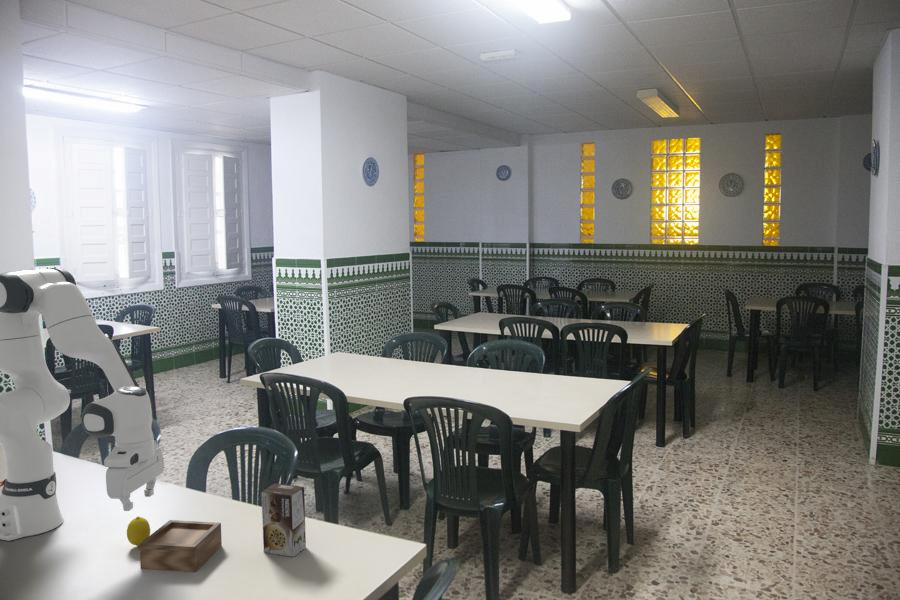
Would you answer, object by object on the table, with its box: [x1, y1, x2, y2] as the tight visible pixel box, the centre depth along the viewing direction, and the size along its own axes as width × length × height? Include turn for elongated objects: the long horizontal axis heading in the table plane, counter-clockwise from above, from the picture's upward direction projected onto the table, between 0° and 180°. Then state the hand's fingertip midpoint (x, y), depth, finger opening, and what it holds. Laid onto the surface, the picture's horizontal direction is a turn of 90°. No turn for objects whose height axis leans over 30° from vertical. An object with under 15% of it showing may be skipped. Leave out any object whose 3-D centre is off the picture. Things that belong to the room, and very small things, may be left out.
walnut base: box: [139, 519, 223, 573], centre depth 173 cm, size 14×14×6 cm
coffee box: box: [260, 483, 307, 558], centre depth 177 cm, size 9×6×16 cm
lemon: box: [126, 516, 151, 548], centre depth 179 cm, size 6×6×8 cm
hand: (139, 502), depth 178 cm, fingers open, 8 cm apart
